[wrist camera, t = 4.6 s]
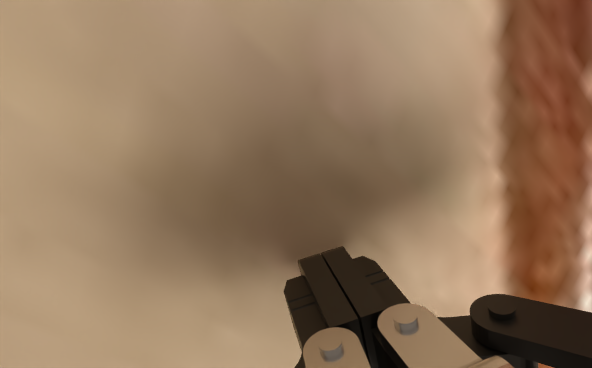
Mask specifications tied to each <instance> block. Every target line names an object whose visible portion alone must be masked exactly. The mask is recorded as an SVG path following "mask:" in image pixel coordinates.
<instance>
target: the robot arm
mask: <svg viewBox="0 0 592 368" xmlns="http://www.w3.org/2000/svg"><path fill="white" fill-rule="evenodd" d="M298 264H299V268H300V272H301V276H299V277H296V278H293V279H290V280H287V282H286V286H285V289H284V294H285V298H286V301H287V305H288V308H289V312H290V315H291V319H292V323H293V326H294V330H295V333H296V336H297V339H298V342H299V345H300V348H301V351H302V355H301V358H300V360H299V362H298V364H297V365H296V366H295V368H538V363H541V364H544V365H548V366H551V367H554V368H592V313H591V312H586V311H581V310H577V309H572V308H567V307H563V306H558V305H553V304H548V303H544V302H539V301H534V300H529V299H525V298H520V297H515V296H511V295H505V294H492V295H486V296H483V297H480V298H478V299H477V300H475V301H474V302H473V303H472V305H471V307H470V315H469V316H459V317H445V318H444V317H436V316H435V315H434V314H433V313H432V312H431V311H430V310H428V309H427V308H425V307H423V306H420V305H417V304H411V303H410V302H409V301H408V299H407V298H406V297H405V296H404V295H403V293H402V292H401V291H400V290H399V289H398V288H397V286H396V285H395V284H394V283H393V282H392V280H391V279H389V277H388V276H387V275H386V273H385V272H383V270H382V269H381V267H380V266H379V265H378V264H377V263H376V262H375V261H373V260H371V259H369V258H367V257H364V256H361V257H358V258H355V259H352V258H351V257H350V255H349V254H348V253H347V251H346V250H345V248H344V247H343V246H342V247H338V248H335V249H332V250H329V251H326V252H323V253H321V255H320V254H317V255H313V256H310V257H307V258H304V259H301V260H298Z"/></svg>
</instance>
